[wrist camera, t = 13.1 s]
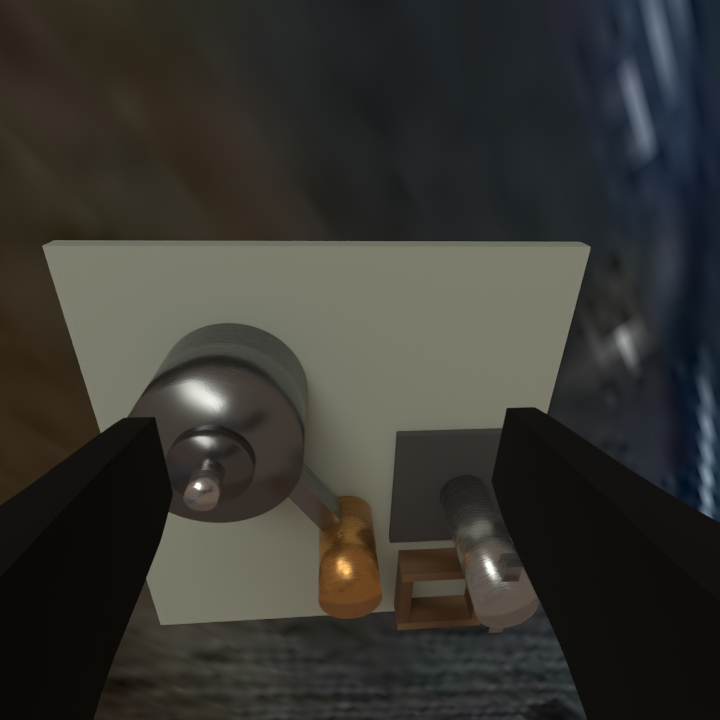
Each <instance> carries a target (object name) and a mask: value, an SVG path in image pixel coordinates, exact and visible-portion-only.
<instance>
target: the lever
mask: <svg viewBox="0 0 720 720" xmlns="http://www.w3.org/2000/svg"><path fill="white" fill-rule="evenodd" d="M288 497H289V498H290V499H291V500H292V501H293V502H294V503H295V504H296V505H297V506H298V507H299V508H300V509H301V510H302V511H303V512H304V513H305V514H306V515H307V516H308V517H309V518H310V519H311V520H312V521H313V522H314V523H315V524H316V525H317V526H318V527H319V594H318V601H319V605H320V607H321V609H322V610H323V611H324V612H325V613H327V614H329V615H331V616H333V617H337V618H343V619H351V618H358V617H362V616H365V615H367V614H369V613H371V612H372V611H374V610H375V609H376V608H377V607H378V606H379V605H380V603H381V600H382V591H381V583H380V575H379V567H378V559H377V551H376V543H375V535H374V527H373V519H372V511H371V508H370V506H369V505H368V504H367V503H366V502H365V501H364V500H362V499H360V498H357V497H353V496H341V497H337V498H336V497H335V496H334V495H333V494H332V493H331V491H330V490H329V489H328V488H327V487H326V486H325V485H324V484H323V483H322V482H321V481H320V480H319V478H318V477H317V476H316V475H315V474H314V473H313V472H312V471H311V470H310V469H309V468H308V467H307V466H306V464H305V463H304V462H303V469H302V473H301V476H300V479H299V481H298V483H297V485H296V487H295V488H294V490H293V491H292V492H291V494H290V495H289V496H288Z"/></svg>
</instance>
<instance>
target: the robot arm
mask: <svg viewBox="0 0 720 720" xmlns="http://www.w3.org/2000/svg"><path fill="white" fill-rule="evenodd" d="M491 482H492V485H493V489H494V492H495V495H496V499H497V502H498V505H499V508H500V511H501V514H502V517H503V520H504V523H505V526H506V528H507V531H508V533H509V535H510V537H511V540H512V542H513V544H514V546H515V548H516V550H517V553H518V555H519V557H520V559H521V561H522V564H523V566H524V568H525V570H526V572H527V574H528V576H529V578H530V581H531V583H532V585H533V587H534V589H535V591H536V593H537V596H538V598H539V600H540V602H541V604H542V606H543V608H544V611H545V613H546V615H547V617H548V619H549V621H550V623H551V626H552V628H553V630H554V632H555V634H556V637H557V639H558V642H559V644H560V646H561V649H562V651H563V653H564V656H565V658H566V661H567V664H568V667H569V670H570V672H571V675H572V678H573V681H574V683H575V686H576V689H577V692H578V695H579V697H580V700H581V703H582V706H583V708H584V711H585V714H586V717H587V720H720V523H719V522H717V521H715V520H713V519H712V518H710V517H708V516H706V515H704V514H703V513H701V512H699V511H697V510H696V509H694V508H692V507H690V506H689V505H687V504H685V503H684V502H682V501H680V500H679V499H677V498H675V497H674V496H672V495H670V494H669V493H667V492H665V491H664V490H662V489H660V488H659V487H657V486H655V485H654V484H652V483H650V482H649V481H647V480H646V479H644V478H643V477H641V476H639V475H638V474H636V473H635V472H633V471H632V470H630V469H628V468H627V467H625V466H624V465H622V464H621V463H619V462H618V461H616V460H615V459H613V458H612V457H610V456H609V455H607V454H606V453H604V452H603V451H601V450H600V449H598V448H597V447H595V446H594V445H592V444H591V443H589V442H588V441H586V440H585V439H583V438H582V437H580V436H579V435H577V434H576V433H575V432H573V431H572V430H570V429H569V428H567V427H566V426H564V425H563V424H561V423H560V422H558V421H557V420H555V419H554V418H552V417H550V416H549V415H547V414H546V413H544V412H542V411H541V410H539V409H537V408H535V407H522V408H507V409H506V414H505V419H504V423H503V428H502V433H501V438H500V442H499V447H498V452H497V457H496V461H495V466H494V471H493V476H492V480H491ZM172 496H173V491H172V487H171V482H170V478H169V474H168V470H167V466H166V461H165V457H164V453H163V449H162V444H161V440H160V436H159V432H158V428H157V423H156V419H155V417H133V418H122V419H121V420H119V421H118V422H116V423H115V424H113V425H112V426H110V427H109V428H107V429H106V430H105V431H103V432H102V433H100V434H99V435H98V436H96V437H95V438H94V439H92V440H91V441H90V442H88V443H87V444H85V445H84V446H83V447H81V448H80V449H79V450H77V451H76V452H75V453H73V454H72V455H71V456H69V457H68V458H67V459H65V460H64V461H63V462H61V463H60V464H58V465H57V466H56V467H54V468H53V469H52V470H50V471H49V472H47V473H46V474H45V475H43V476H42V477H41V478H39V479H38V480H37V481H35V482H34V483H32V484H31V485H30V486H28V487H27V488H25V489H24V490H23V491H21V492H20V493H18V494H17V495H15V496H14V497H12V498H11V499H9V500H8V501H6V502H5V503H4V504H2V505H1V506H0V720H93V719H94V715H95V712H96V709H97V706H98V702H99V699H100V696H101V692H102V689H103V686H104V683H105V681H106V678H107V675H108V672H109V670H110V667H111V664H112V661H113V659H114V656H115V654H116V651H117V649H118V646H119V644H120V641H121V639H122V636H123V634H124V632H125V629H126V627H127V624H128V622H129V619H130V617H131V614H132V612H133V609H134V607H135V604H136V602H137V600H138V597H139V595H140V592H141V590H142V587H143V585H144V582H145V580H146V577H147V575H148V572H149V570H150V567H151V565H152V562H153V560H154V557H155V555H156V552H157V550H158V547H159V544H160V542H161V538H162V535H163V531H164V528H165V524H166V520H167V516H168V512H169V508H170V504H171V500H172Z"/></svg>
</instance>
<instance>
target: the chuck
mask: <svg viewBox="0 0 720 720" xmlns="http://www.w3.org/2000/svg"><path fill="white" fill-rule="evenodd" d="M306 403H307V380H306V376H305V372H304V369H303V367H302V365H301V363H300V361H299V360H298V358H297V356H296V355H295V354H294V353H293V351H292V350H291V349H290V348H289V347H288V346H287V345H286V344H285V343H284V342H282V341H281V340H280V339H278V338H277V337H275V336H274V335H272V334H270V333H268V332H266V331H264V330H261V329H259V328H256V327H253V326H249V325H244V324H238V323H219V324H213V325H208V326H205V327H202V328H199V329H196V330H194V331H192V332H190V333H189V334H187V335H186V336H184V337H183V338H181V339H180V340H179V341H178V342H177V343H176V344H175V345H174V346H173V348H172V349H171V350H170V352H169V353H168V355H167V356H166V358H165V359H164V361H163V362H162V364H161V366H160V367H159V369H158V370H157V372H156V373H155V375H154V376H153V378H152V379H151V381H150V383H149V384H148V386H147V387H146V389H145V390H144V392H143V393H142V395H141V396H140V398H139V400H138V401H137V403H136V404H135V406H134V407H133V409H132V410H131V412H130V413H129V415H128V417H127V418H133V417H155V419H156V423H157V428H158V432H159V436H160V440H161V444H162V449H163V453H164V457H165V461H166V466H167V470H168V474H169V478H170V482H171V487H172V491H173V496H172V500H171V504H170V508H169V512H170V513H172V514H175V515H177V516H180V517H183V518H187V519H190V520H195V521H201V522H210V523H228V522H237V521H242V520H247V519H250V518H254V517H257V516H259V515H262V514H264V513H266V512H268V511H270V510H272V509H273V508H275V507H276V506H278V505H279V504H280V503H282V502H283V501H284V500H285V499H286V498H287V497H288V496H289V495H290V494H291V492H292V491H293V490H294V488H295V487H296V485H297V483H298V481H299V479H300V476H301V473H302V469H303V459H304V441H305V422H306Z"/></svg>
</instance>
